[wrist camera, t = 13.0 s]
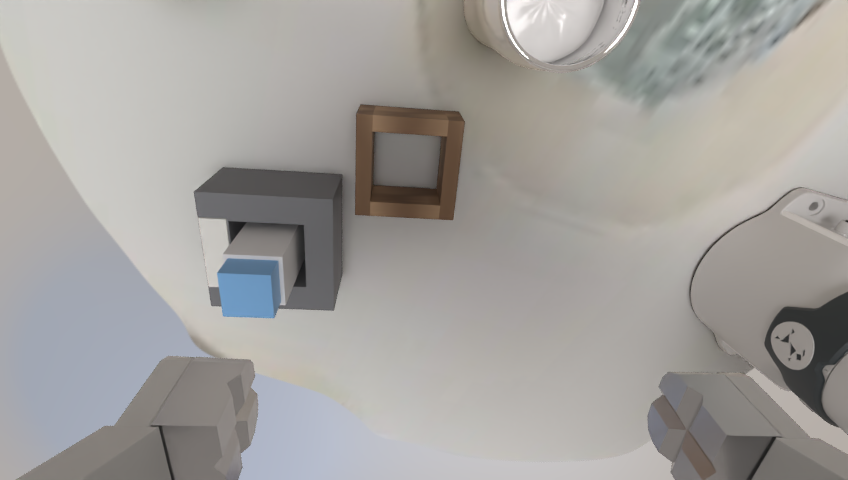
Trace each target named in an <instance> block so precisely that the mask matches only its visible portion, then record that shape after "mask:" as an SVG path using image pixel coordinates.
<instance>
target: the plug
mask: <svg viewBox="0 0 848 480" xmlns="http://www.w3.org/2000/svg"><path fill="white" fill-rule="evenodd" d="M304 258H305V240H304V225H296V224H277V223H258V222H247V223H246V224H245V225H244V227H243V228H242V229H241V231H240V232H239V233H238V235H237V236H236V237H235V239H234V240H233V241H232V242H231V244H230V245H229V246H228V248H227V249H226V250H225V252H224V253H223V261H224V264H223V265H222V267H221V268H220V269H219V271H218V272H217V277H218V284H219V291H220V298H221V305H222V312H223V316H227V317H255V318H274V317H275V315H276V313H277V310H278V308H279V306H280V305H286V303H287V301H288V298H289V296H290V293H291V291H292V288H293V286H294V283H295V281H296V278H297V276H298V273H299V271H300V268H301V266H302V263H303V261H304Z"/></svg>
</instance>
